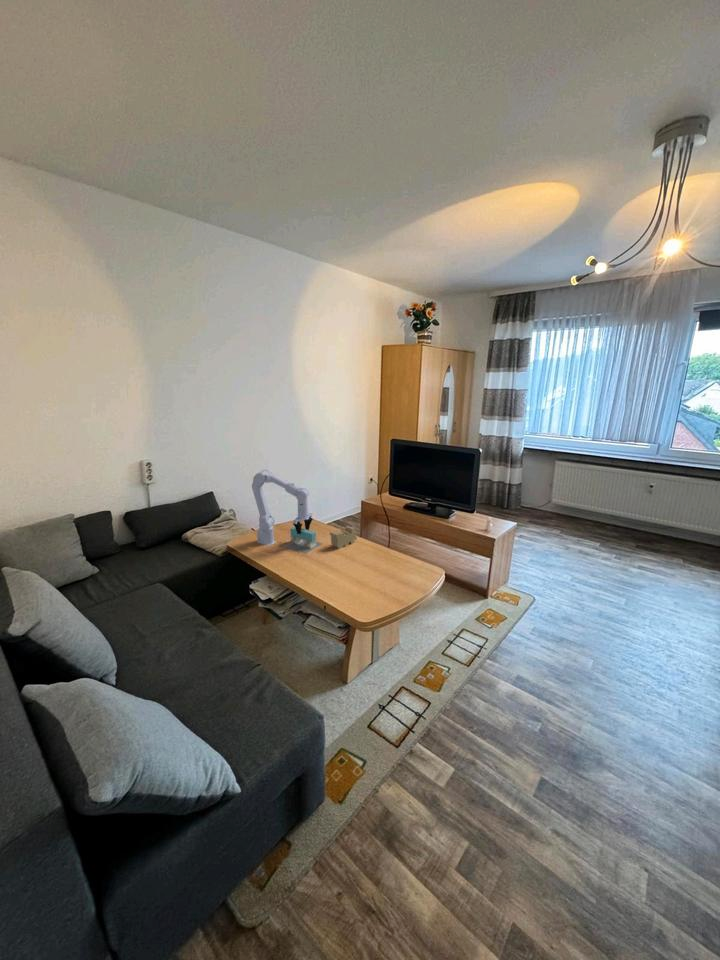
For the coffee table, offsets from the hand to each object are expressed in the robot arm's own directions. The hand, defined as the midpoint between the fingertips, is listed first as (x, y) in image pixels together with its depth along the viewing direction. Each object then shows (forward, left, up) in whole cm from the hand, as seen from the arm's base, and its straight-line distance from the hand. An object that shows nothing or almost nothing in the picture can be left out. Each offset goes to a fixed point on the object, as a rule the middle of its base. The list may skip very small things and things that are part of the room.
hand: (303, 531), depth 224 cm
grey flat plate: (0, -1, -9) cm, 9 cm away
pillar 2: (+5, 0, -8) cm, 9 cm away
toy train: (+20, +13, -9) cm, 26 cm away
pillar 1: (-5, 0, -8) cm, 9 cm away
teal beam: (0, 0, -4) cm, 4 cm away
